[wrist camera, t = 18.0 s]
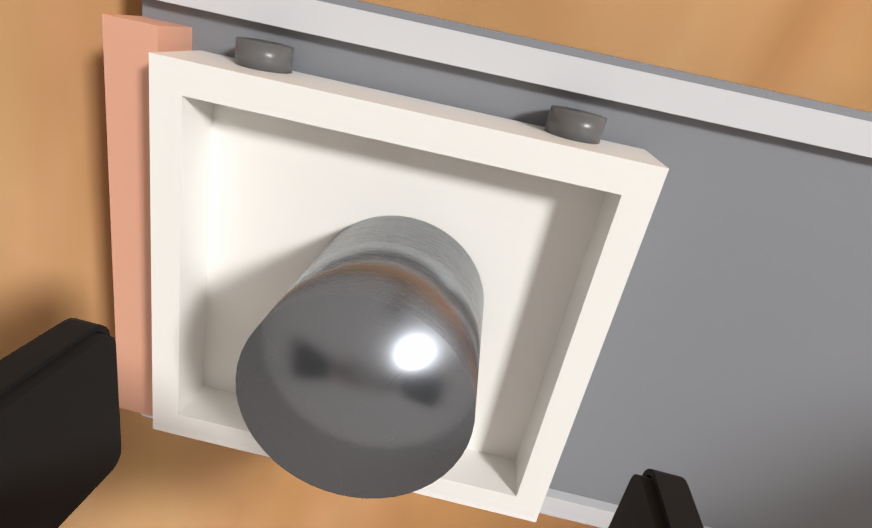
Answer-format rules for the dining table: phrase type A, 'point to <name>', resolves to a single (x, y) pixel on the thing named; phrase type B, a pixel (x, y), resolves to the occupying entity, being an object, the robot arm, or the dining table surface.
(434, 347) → the part
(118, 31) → the rail board
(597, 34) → the dining table surface
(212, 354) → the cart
